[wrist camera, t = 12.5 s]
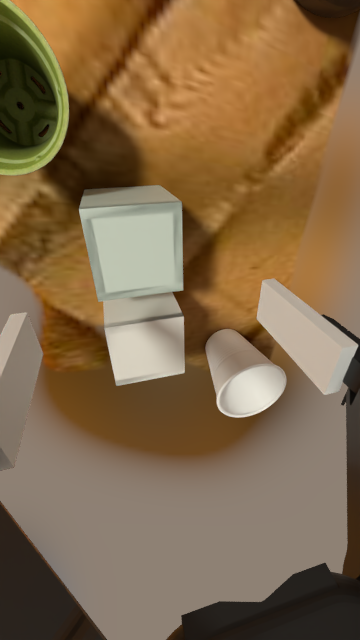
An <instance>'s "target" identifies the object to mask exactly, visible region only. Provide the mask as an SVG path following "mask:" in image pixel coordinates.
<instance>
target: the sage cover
mask: <svg viewBox="0 0 360 640" xmlns="http://www.w3.org/2000/svg"><path fill="white" fill-rule="evenodd" d="M79 212H80V217H81V222H82V227H83V231H84V236H85V241H86V245H87V250H88V255H89V260H90V264H91V269H92V274H93V278H94V283H95V288H96V293H97V297H98V302H99V301H107V300H114V299H122V298H129V297H137V296H144V295H152V294H160V293H167V292H175V291H182V290H183V242H182V202H181V201H180V200H179V199H177V198H176V197H175V196H173V195H172V194H171V193H169V192H168V191H167V190H165V189H164V188H163V187H161V186H160V185H153V186H136V187H118V188H101V189H84V193H83V196H82V200H81V203H80V207H79Z"/></svg>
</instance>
